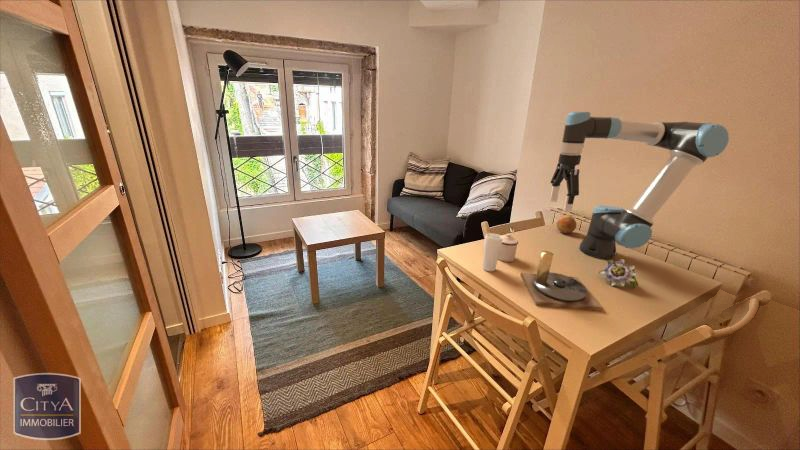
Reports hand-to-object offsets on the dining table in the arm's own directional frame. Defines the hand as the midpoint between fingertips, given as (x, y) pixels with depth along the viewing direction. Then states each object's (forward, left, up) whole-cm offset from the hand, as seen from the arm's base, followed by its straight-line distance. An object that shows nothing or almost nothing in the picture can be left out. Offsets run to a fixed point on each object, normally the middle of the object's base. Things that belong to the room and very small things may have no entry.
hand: (559, 206), depth 129 cm
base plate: (+4, +23, -27) cm, 36 cm away
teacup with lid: (+19, -4, -27) cm, 33 cm away
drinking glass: (+27, +9, -27) cm, 39 cm away
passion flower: (-23, +12, -27) cm, 38 cm away
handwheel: (+4, +23, -25) cm, 34 cm away
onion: (-23, -41, -27) cm, 54 cm away
